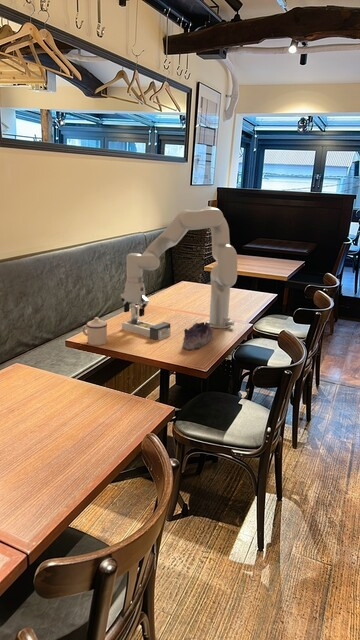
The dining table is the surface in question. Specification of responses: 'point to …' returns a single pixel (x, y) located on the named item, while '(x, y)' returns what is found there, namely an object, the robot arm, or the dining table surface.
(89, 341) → the teacup with lid
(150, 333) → the track
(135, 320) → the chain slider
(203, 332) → the geode
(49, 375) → the dining table surface
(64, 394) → the dining table surface
